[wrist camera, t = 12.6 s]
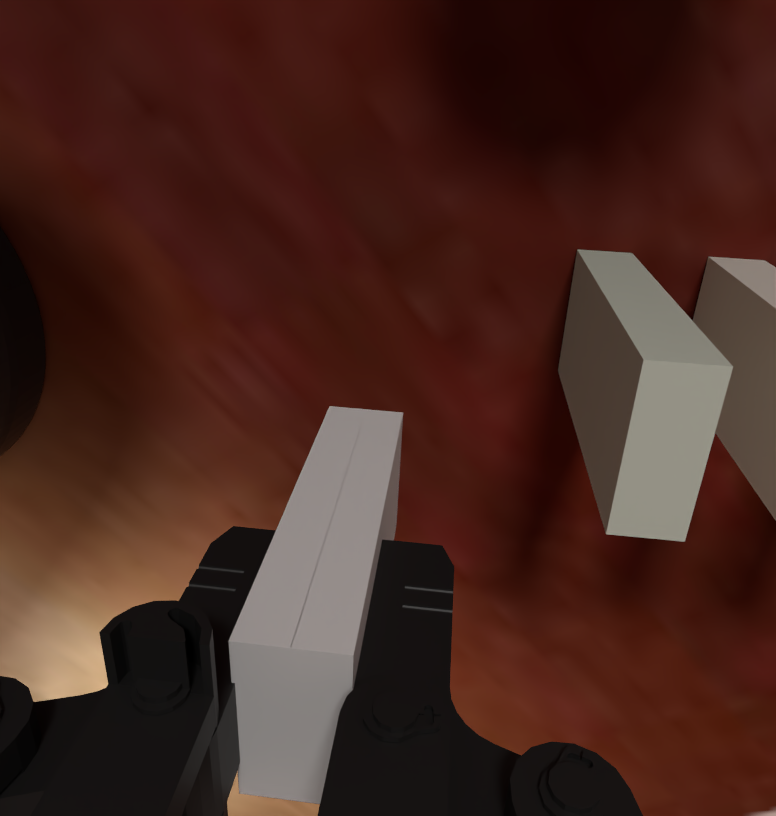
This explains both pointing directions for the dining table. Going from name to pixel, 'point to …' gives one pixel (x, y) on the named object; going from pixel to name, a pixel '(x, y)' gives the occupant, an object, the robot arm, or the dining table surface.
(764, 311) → the tile
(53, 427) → the dining table surface
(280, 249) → the dining table surface
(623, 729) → the dining table surface
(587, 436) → the end tile
